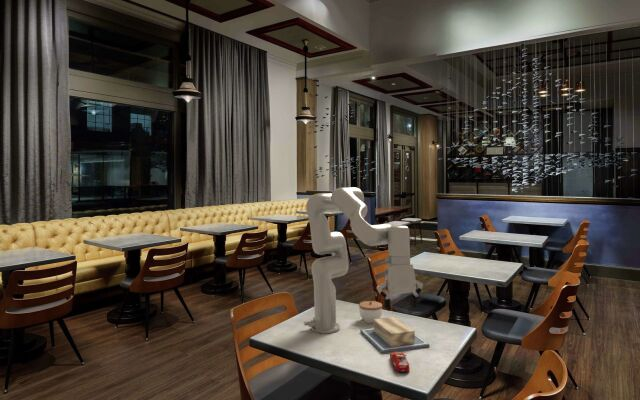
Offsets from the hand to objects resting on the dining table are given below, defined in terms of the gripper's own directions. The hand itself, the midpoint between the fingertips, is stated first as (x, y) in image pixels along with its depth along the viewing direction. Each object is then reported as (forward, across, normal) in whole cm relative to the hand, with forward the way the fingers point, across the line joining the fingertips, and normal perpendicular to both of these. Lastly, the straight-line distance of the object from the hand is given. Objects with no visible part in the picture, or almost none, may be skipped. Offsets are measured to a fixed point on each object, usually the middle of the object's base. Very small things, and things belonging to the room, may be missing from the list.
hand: (400, 308), depth 137 cm
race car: (+20, -2, -2) cm, 20 cm away
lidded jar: (+18, +4, +43) cm, 47 cm away
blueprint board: (+19, +5, +20) cm, 28 cm away
